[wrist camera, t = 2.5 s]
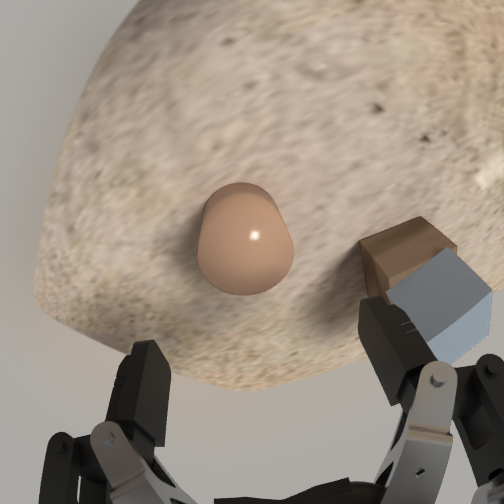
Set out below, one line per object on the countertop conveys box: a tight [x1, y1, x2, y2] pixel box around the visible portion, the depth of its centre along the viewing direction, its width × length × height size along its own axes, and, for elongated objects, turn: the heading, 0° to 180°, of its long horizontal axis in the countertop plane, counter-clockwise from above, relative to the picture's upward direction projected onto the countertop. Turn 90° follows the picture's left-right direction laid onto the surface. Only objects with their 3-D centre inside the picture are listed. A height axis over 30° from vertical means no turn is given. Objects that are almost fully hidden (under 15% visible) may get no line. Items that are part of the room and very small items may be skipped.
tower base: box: [359, 216, 457, 306], centre depth 20 cm, size 6×6×5 cm
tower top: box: [386, 247, 492, 365], centre depth 15 cm, size 6×6×5 cm
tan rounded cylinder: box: [197, 183, 294, 296], centre depth 17 cm, size 5×5×5 cm
